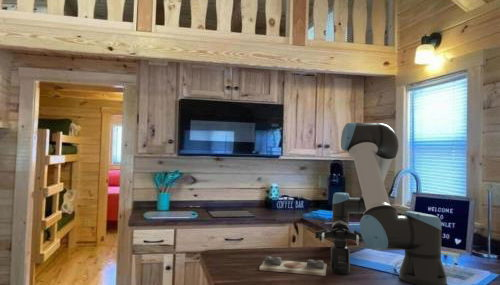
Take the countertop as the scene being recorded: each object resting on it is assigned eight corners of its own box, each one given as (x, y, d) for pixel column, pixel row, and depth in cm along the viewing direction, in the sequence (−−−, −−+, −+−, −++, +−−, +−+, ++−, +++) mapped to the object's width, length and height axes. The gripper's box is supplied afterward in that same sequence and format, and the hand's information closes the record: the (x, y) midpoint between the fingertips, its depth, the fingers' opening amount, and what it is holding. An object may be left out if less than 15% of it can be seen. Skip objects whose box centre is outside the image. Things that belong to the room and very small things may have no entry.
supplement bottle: (352, 271, 145) (352, 238, 146) (346, 276, 140) (346, 242, 140) (334, 268, 149) (334, 236, 149) (327, 272, 143) (328, 239, 144)
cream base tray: (326, 266, 151) (326, 257, 151) (325, 275, 140) (325, 266, 140) (265, 261, 157) (265, 253, 157) (259, 269, 145) (259, 260, 145)
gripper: (369, 240, 173) (373, 252, 152) (311, 236, 178) (308, 247, 158) (369, 223, 173) (373, 233, 152) (312, 220, 178) (308, 229, 158)
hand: (340, 240), depth 155 cm, fingers open, 13 cm apart
